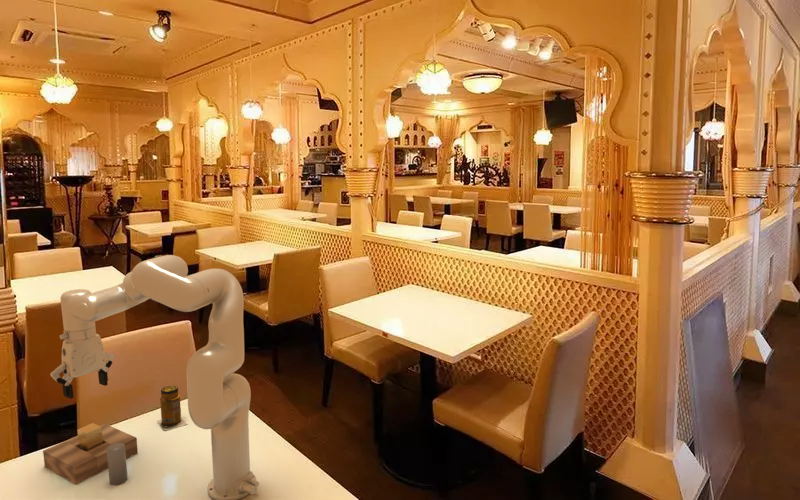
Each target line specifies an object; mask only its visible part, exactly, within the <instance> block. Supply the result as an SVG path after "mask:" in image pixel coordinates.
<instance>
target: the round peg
mask: <svg viewBox="0 0 800 500" xmlns="http://www.w3.org/2000/svg"><path fill="white" fill-rule="evenodd" d="M107 460H108V468H107V470H108V481H109V485H111V486H120V485H122V484H124V483H126V482H127V481H128V479H129V477H128V465H127V459H126V453H125V444H124V443H115V444H112V445H110V446H108V447H107Z"/></svg>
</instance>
